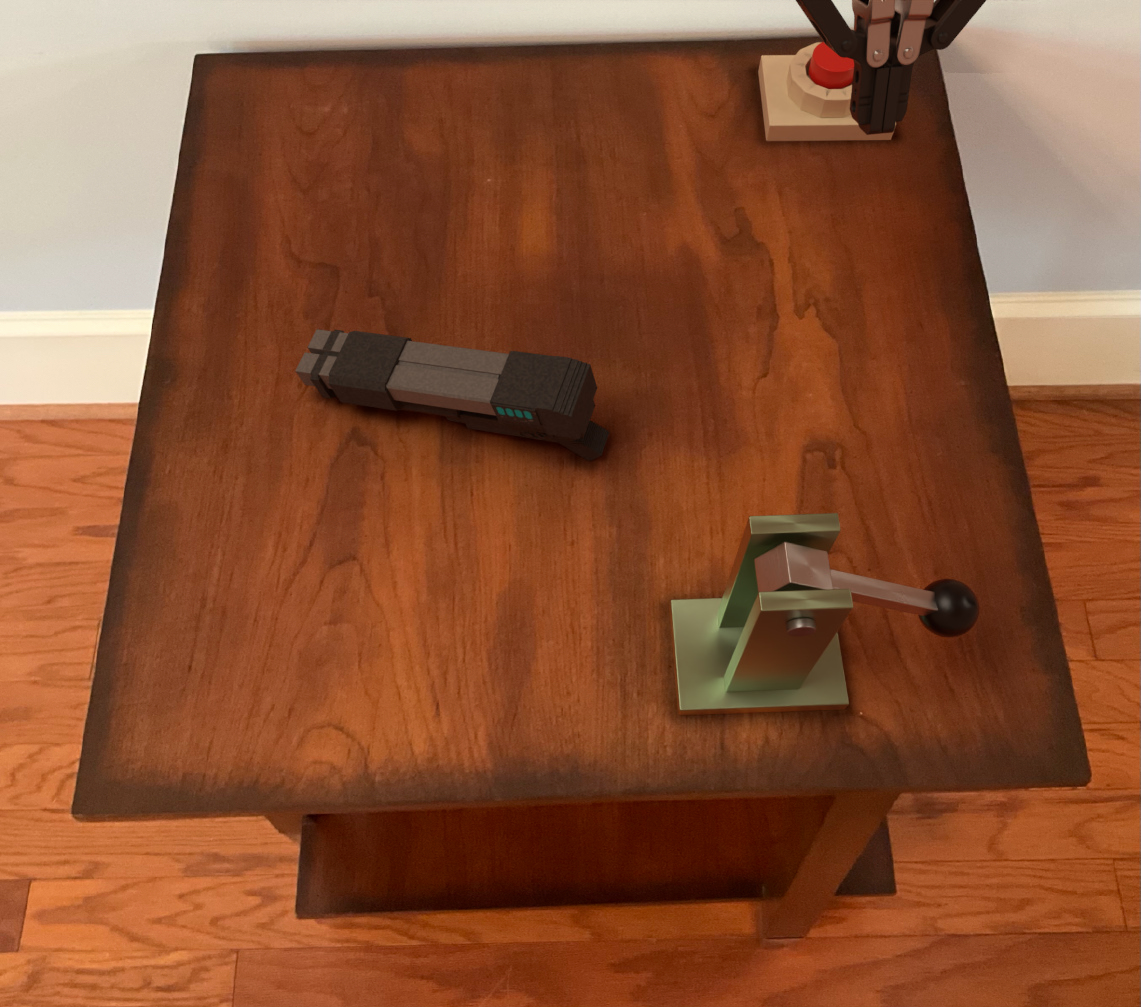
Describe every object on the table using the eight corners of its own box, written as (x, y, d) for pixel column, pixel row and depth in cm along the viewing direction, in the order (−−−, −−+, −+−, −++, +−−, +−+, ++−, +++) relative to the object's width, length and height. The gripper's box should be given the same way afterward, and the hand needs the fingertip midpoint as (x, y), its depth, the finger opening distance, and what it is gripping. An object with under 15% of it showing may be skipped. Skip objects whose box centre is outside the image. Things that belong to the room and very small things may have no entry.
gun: (604, 479, 67) (552, 388, 59) (363, 457, 76) (289, 376, 68) (623, 423, 69) (574, 328, 61) (386, 408, 78) (316, 324, 70)
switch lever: (939, 595, 58) (984, 575, 56) (950, 648, 57) (997, 630, 54) (747, 552, 52) (788, 528, 49) (754, 611, 50) (797, 589, 48)
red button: (851, 57, 81) (856, 39, 79) (856, 89, 79) (862, 71, 78) (806, 58, 81) (810, 39, 79) (810, 90, 79) (815, 71, 78)
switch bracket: (827, 600, 64) (891, 492, 50) (845, 709, 60) (917, 625, 47) (668, 605, 63) (690, 499, 50) (677, 715, 60) (703, 633, 47)
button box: (877, 70, 85) (888, 34, 81) (891, 140, 81) (903, 105, 78) (758, 71, 85) (764, 35, 82) (766, 141, 81) (773, 106, 78)
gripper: (804, -230, 45) (778, 162, 55) (1097, -252, 45) (1016, 140, 56) (764, -234, 51) (747, 120, 61) (1023, -254, 51) (962, 101, 62)
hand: (875, 129), depth 58 cm, fingers closed
